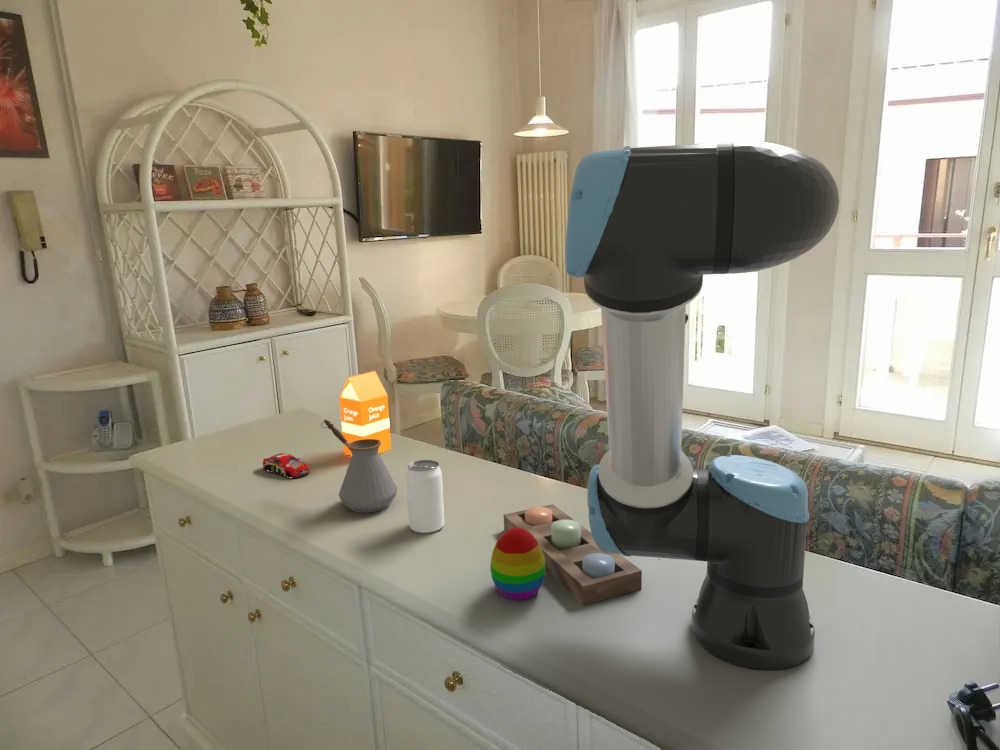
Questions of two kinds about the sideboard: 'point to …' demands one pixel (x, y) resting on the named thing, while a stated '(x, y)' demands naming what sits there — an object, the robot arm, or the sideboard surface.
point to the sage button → (565, 534)
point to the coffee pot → (365, 476)
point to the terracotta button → (538, 516)
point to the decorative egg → (517, 564)
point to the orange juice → (365, 411)
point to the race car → (285, 465)
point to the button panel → (578, 561)
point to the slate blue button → (598, 565)
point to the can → (425, 496)
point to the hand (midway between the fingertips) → (656, 407)
